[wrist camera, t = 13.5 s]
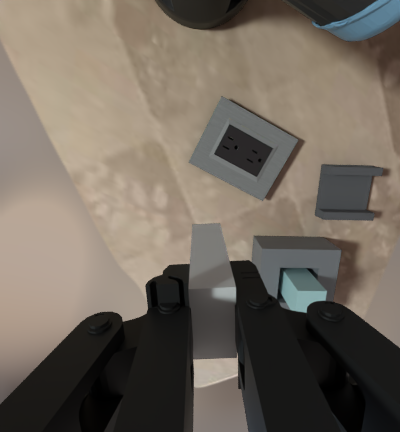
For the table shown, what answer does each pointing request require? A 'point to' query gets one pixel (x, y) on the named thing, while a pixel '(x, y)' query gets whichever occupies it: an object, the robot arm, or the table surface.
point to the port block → (296, 261)
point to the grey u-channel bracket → (345, 192)
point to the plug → (300, 288)
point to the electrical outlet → (242, 149)
